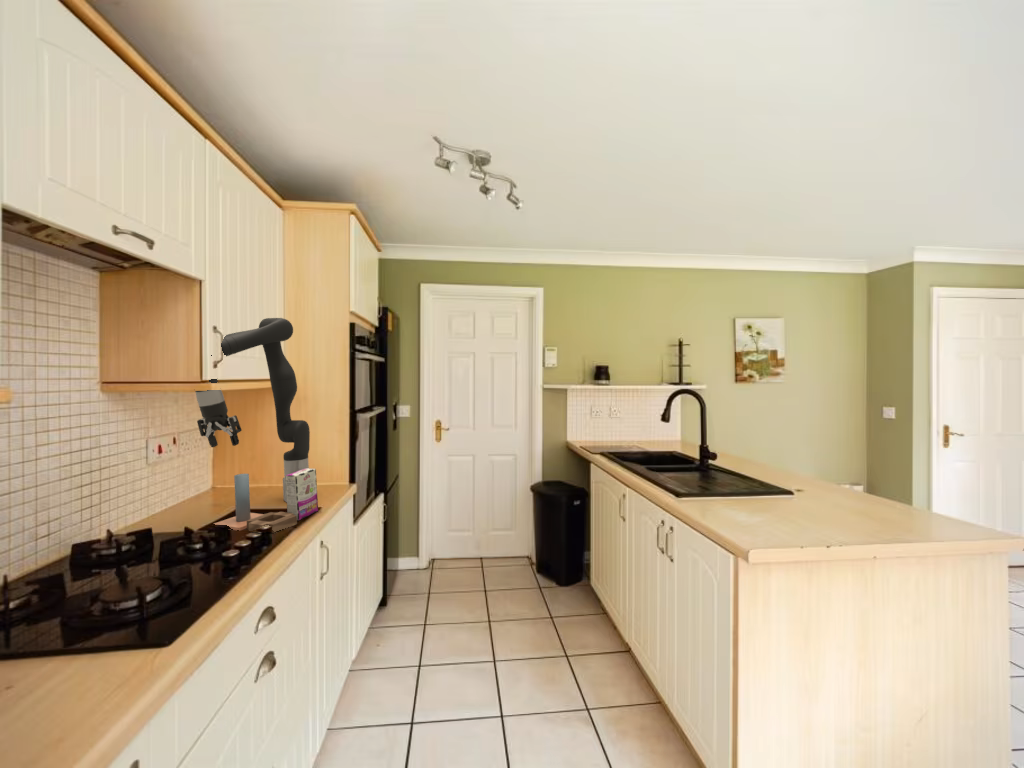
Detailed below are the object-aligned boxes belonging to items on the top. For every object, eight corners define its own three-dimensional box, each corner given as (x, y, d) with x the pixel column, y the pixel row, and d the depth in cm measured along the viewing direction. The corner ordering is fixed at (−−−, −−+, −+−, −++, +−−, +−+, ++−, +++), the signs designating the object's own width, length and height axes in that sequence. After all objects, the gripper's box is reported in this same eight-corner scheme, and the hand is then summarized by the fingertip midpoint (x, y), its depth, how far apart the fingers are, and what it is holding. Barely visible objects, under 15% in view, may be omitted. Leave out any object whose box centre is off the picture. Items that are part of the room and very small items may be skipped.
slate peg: (233, 521, 156) (231, 476, 156) (244, 517, 161) (243, 473, 160) (241, 522, 155) (240, 476, 154) (253, 518, 159) (251, 474, 158)
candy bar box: (307, 510, 170) (305, 468, 169) (318, 511, 169) (316, 468, 168) (286, 520, 159) (284, 475, 158) (298, 521, 158) (296, 475, 157)
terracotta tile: (213, 526, 154) (213, 523, 154) (247, 514, 166) (247, 512, 166) (239, 530, 149) (239, 527, 149) (272, 518, 161) (272, 515, 161)
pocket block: (242, 530, 149) (242, 522, 149) (274, 519, 161) (274, 510, 160) (269, 535, 144) (268, 526, 144) (300, 522, 156) (300, 514, 156)
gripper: (237, 397, 154) (250, 440, 158) (202, 400, 156) (215, 442, 160) (221, 403, 146) (235, 449, 151) (184, 406, 149) (198, 451, 153)
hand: (225, 445), depth 155 cm, fingers open, 8 cm apart
